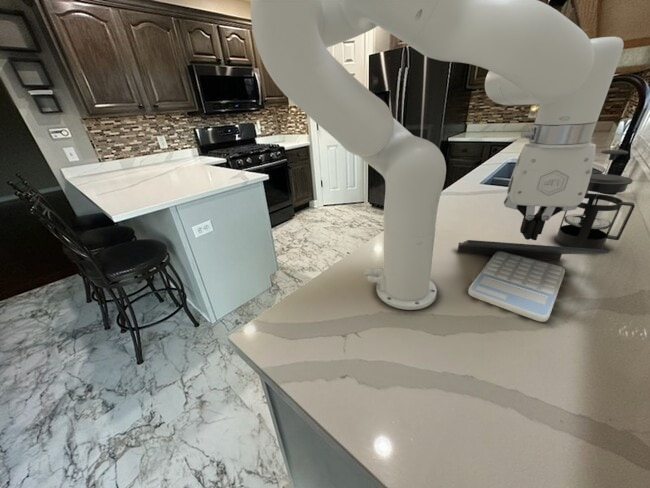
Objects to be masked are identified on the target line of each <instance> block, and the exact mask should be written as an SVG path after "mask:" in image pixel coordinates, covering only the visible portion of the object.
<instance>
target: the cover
mask: <svg viewBox="0 0 650 488" xmlns="http://www.w3.org/2000/svg"><path fill="white" fill-rule="evenodd" d="M459 243H460V244H459ZM459 243H458V244H459V246H467V247H479V248H491V249H503V250H516V251H528V252H540V253H552V254H562V255H583V254H585V255H586V254H588V255H589V254H609V252H610V250H609V249H603V250H599V249H586V248H572V247H562V246H559V245H558V246H557V245H544V244H543V245H542V244H530V243H529V244H528V243H517V242H516V243H515V242H502V241H501V242H500V241H490V240H489V241H488V240H475V239H467V240H465V241H462V242H459Z"/></svg>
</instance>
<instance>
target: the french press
mask: <svg viewBox="0 0 650 488" xmlns="http://www.w3.org/2000/svg"><path fill="white" fill-rule="evenodd" d="M600 153H601V154H603V155H609V157H608V160H609V162H608V164H607V166H606V169H605V172H604V173H591V177H590V181H589V184H588V188H587V191H586V194H585V197H584V199H588V200H587V202H583V201H582V202H581V203H580V204H579V205H578V207H577V208H578V209H584V210H583V213H582V214H581V213H580V214H579V213H573V214H567V212H568V211H564V214H563V217H562V218H561V222H560V225H559V228H558V230H557V234H556V235H555V237H554V242H555V244H556V245H558V246H559V247H572V248H586V249H599V250H604V248H605V246H604V245H605V243H606V241H607V239H608V240H613V241H619V240H620V238H621V236H622V234H623V232H624V230H625V228H626V226H627V224H628V222H629V219H630V218H631V215H632V213H633V211H634V209H635V208H636V205H635V202H629V201H623V200H622V199H621V198H618V197H616V196H612V195H607V194H619V193H623V192H625V191H626V190H627V189H628V185H630V184H632V183H633V179H632V178H630V177H627V176H624V175H623V176H622V175H618V174H609V173H608V172H609V169H610V168H611V165H612V163H613V161H615V159H616V157H617V156H618V155H627V154H629V151H627V150H625V149H605V150H601V151H600ZM590 192H591V193H590ZM599 201H604V202H609V203H612V204H610V205H609V204H607V205H606V204H598V203H599ZM622 206H627V207H630V208H629V209H628V212H627V213H626V216H625V218H624V220H623V222H622V225H621V227H620V228H619V231H618V233H617V235H610V232H611V230H612V228H613V226H614V224H615V222H616V219H617V217H618V214H619V212H620V211H621V208H622ZM614 211H615V214H614V216H613V218H612V220H611V222H610V220H607V219H605V218H603V217H599V216H598V213H599V212H614ZM564 222H565V223H566V224H564V225H563V223H564ZM604 230H607V231H606V232H605V231H604Z"/></svg>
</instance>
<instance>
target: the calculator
mask: <svg viewBox="0 0 650 488" xmlns="http://www.w3.org/2000/svg"><path fill="white" fill-rule="evenodd" d="M565 272H566V269H565V268H564V267H563V266H560V265H557V264H552V263H548V262H544V261H542V260H538V259H531V258H525V257H521V256H517V255H513V254H509V253H505V252H496V253H495V254H494V255H492V257H490V259H489V261H488V262H487V263H486V265H485V266H484V267H483V269H482V270H481V271H480V272H479V274H478V275H477V276H476V277H475V279H474V280H473V281H472V283H471V284H470V285H469V287H468V291H467V293H468V296H471V297H472V298H475V299H477V300H480V301H483V302H486V303H488V304H490V305H493V306H496V307H499V308H501V309H504V310H507V311H510V312H512V313H515V314H517V315H520V316H523V317H526V318H528V319H531V320H533V321H536V322H541V323H545V322H547V321H548V320H549V319H550V316H551V313H552V310H553V308H554V305H555V302H556V299H557V296H558V294H559V290H560V287H561V285H562V282H563V279H564V276H565Z"/></svg>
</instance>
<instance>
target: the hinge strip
mask: <svg viewBox="0 0 650 488" xmlns="http://www.w3.org/2000/svg"><path fill="white" fill-rule="evenodd" d="M460 243H461V242H458V244H457V253H465V254H475V255H485V256H486V255H487V256H494V254H495V253H496V252H505V253H509V254H513V255H517V256H521V257H525V258H529V259H533V260H541V261H554V262H560V261H561V258H562V255H563V254H552V253H540V252H528V251H516V250H503V249H491V248H479V247H467V246H459V244H460Z"/></svg>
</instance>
